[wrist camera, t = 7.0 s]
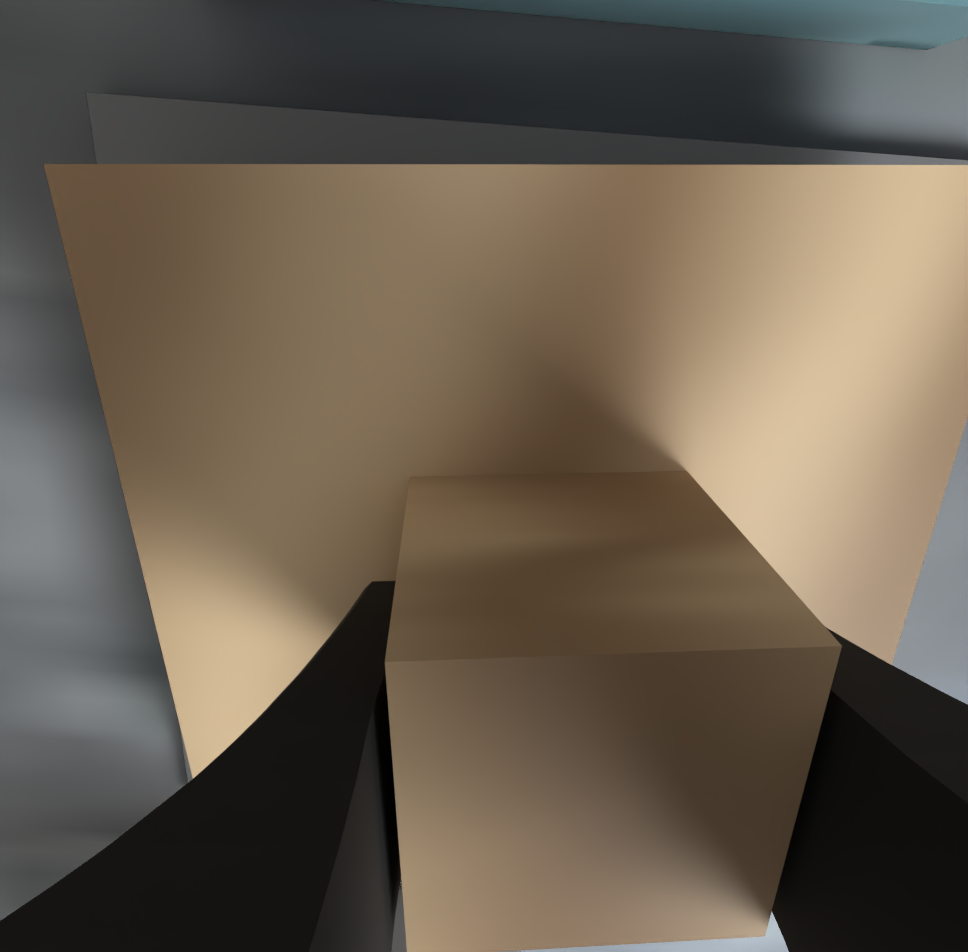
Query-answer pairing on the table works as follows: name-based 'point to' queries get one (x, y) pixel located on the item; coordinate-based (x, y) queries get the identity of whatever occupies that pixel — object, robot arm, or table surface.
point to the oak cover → (537, 490)
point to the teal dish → (764, 17)
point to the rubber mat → (400, 143)
